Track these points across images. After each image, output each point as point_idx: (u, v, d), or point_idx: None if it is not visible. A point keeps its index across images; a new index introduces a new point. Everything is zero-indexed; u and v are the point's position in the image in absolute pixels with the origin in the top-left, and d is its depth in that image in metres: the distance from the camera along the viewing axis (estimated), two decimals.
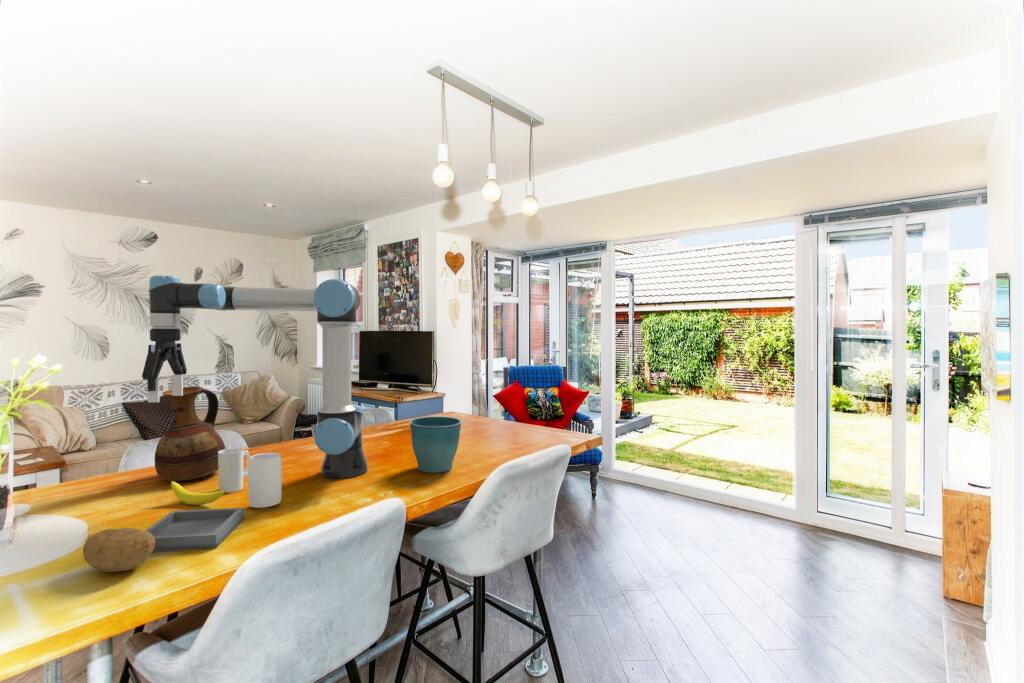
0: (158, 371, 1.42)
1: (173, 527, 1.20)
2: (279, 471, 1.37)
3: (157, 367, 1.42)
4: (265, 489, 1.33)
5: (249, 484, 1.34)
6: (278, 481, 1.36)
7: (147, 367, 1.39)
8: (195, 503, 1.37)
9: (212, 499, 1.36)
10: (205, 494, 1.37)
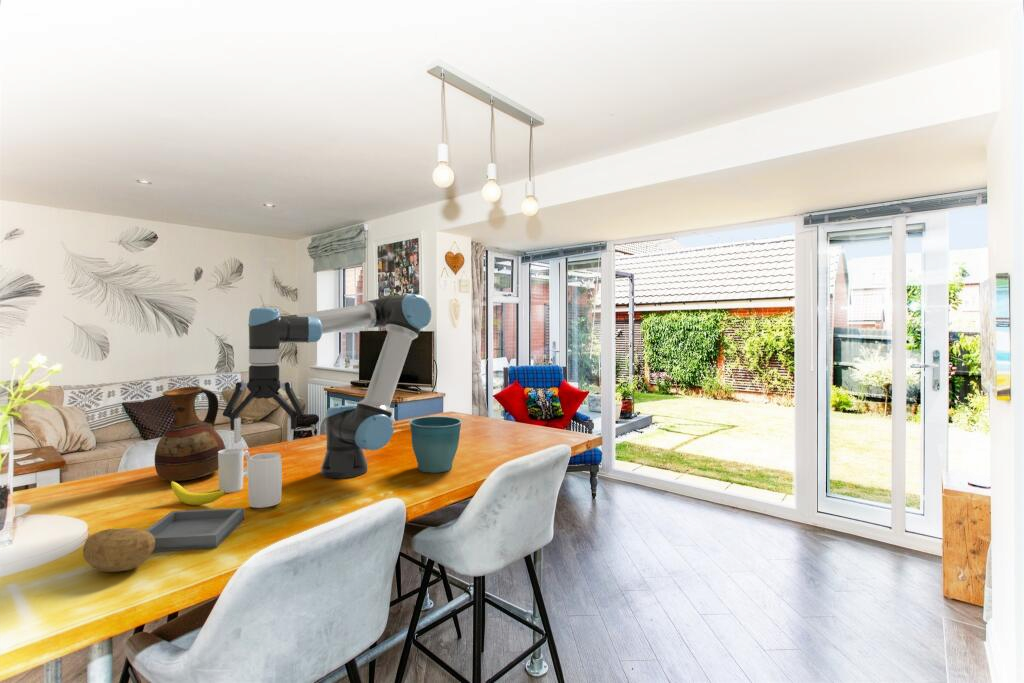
0: (237, 410, 1.34)
1: (173, 527, 1.20)
2: (279, 471, 1.37)
3: None
4: (265, 489, 1.33)
5: (249, 484, 1.34)
6: (278, 481, 1.36)
7: None
8: (195, 503, 1.37)
9: (212, 499, 1.36)
10: (205, 494, 1.37)
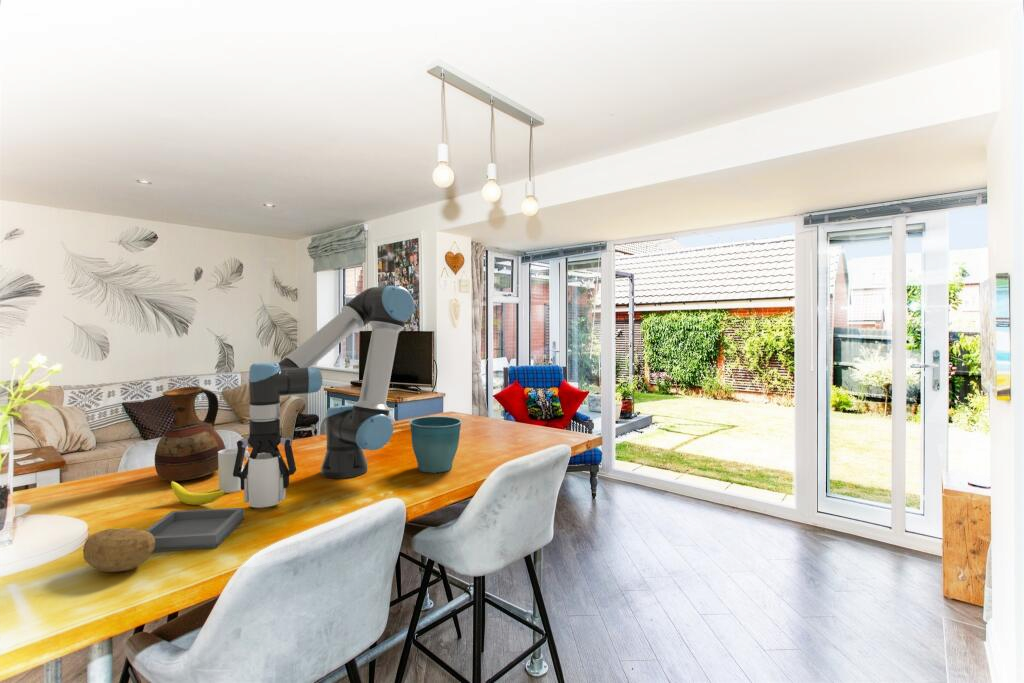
0: (245, 469, 1.35)
1: (173, 527, 1.20)
2: (279, 471, 1.37)
3: None
4: (265, 489, 1.33)
5: (249, 484, 1.34)
6: (278, 481, 1.36)
7: None
8: (195, 503, 1.37)
9: (212, 499, 1.36)
10: (205, 494, 1.37)
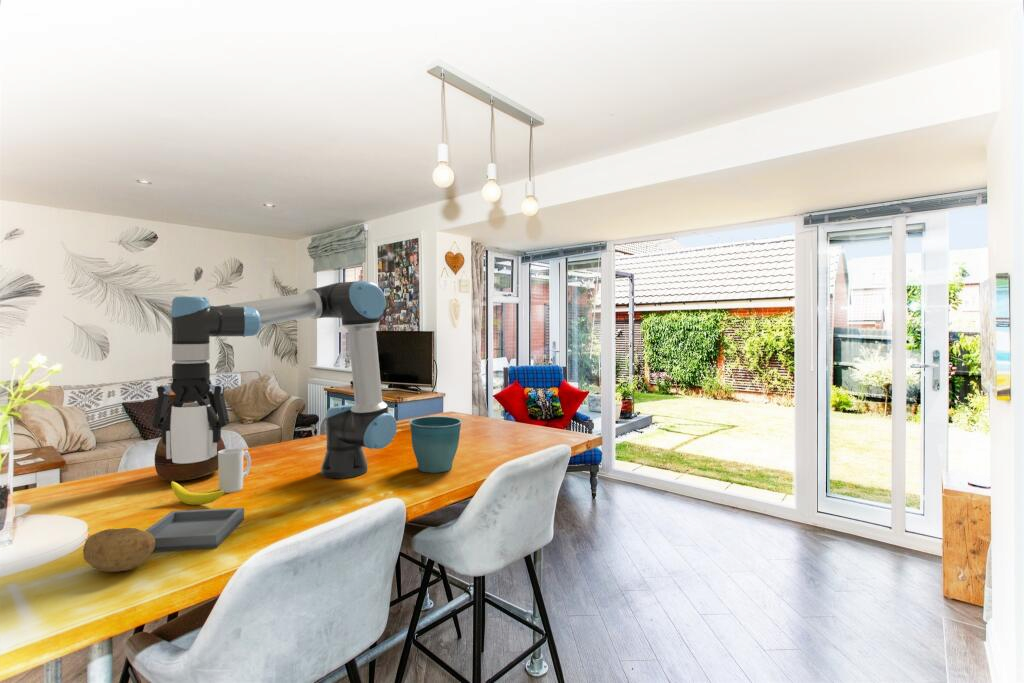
0: (167, 420, 1.16)
1: (173, 527, 1.20)
2: (208, 422, 1.17)
3: None
4: (189, 442, 1.14)
5: (171, 437, 1.15)
6: (206, 434, 1.17)
7: None
8: (195, 503, 1.37)
9: (212, 499, 1.36)
10: (205, 494, 1.37)
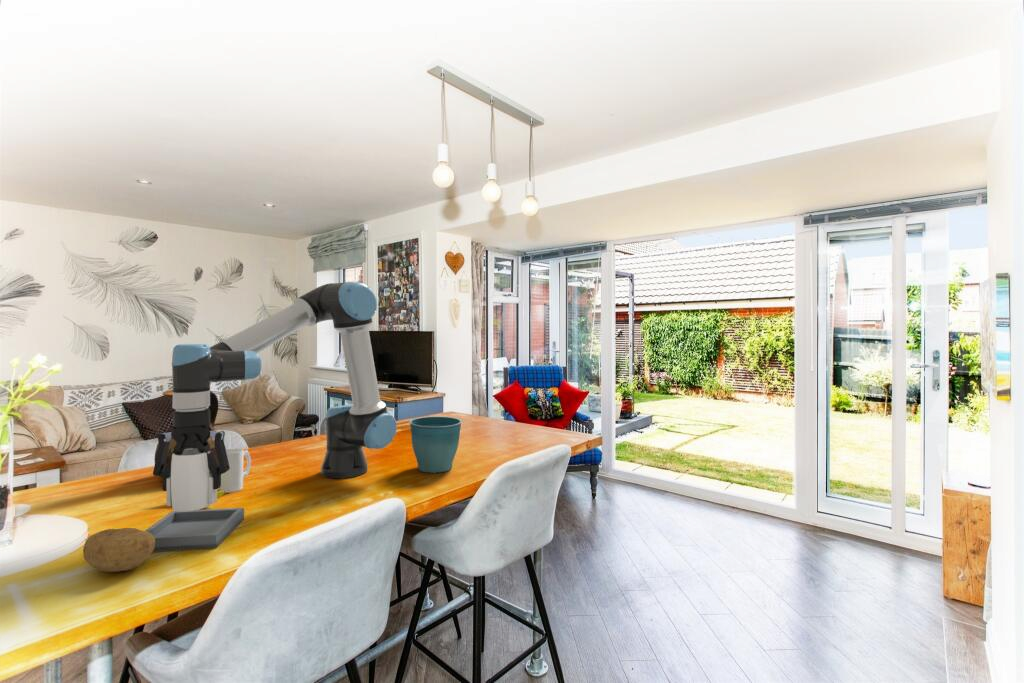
0: (167, 467, 1.16)
1: (173, 527, 1.20)
2: (208, 469, 1.18)
3: None
4: (190, 490, 1.15)
5: (171, 485, 1.15)
6: (207, 481, 1.17)
7: None
8: None
9: None
10: None
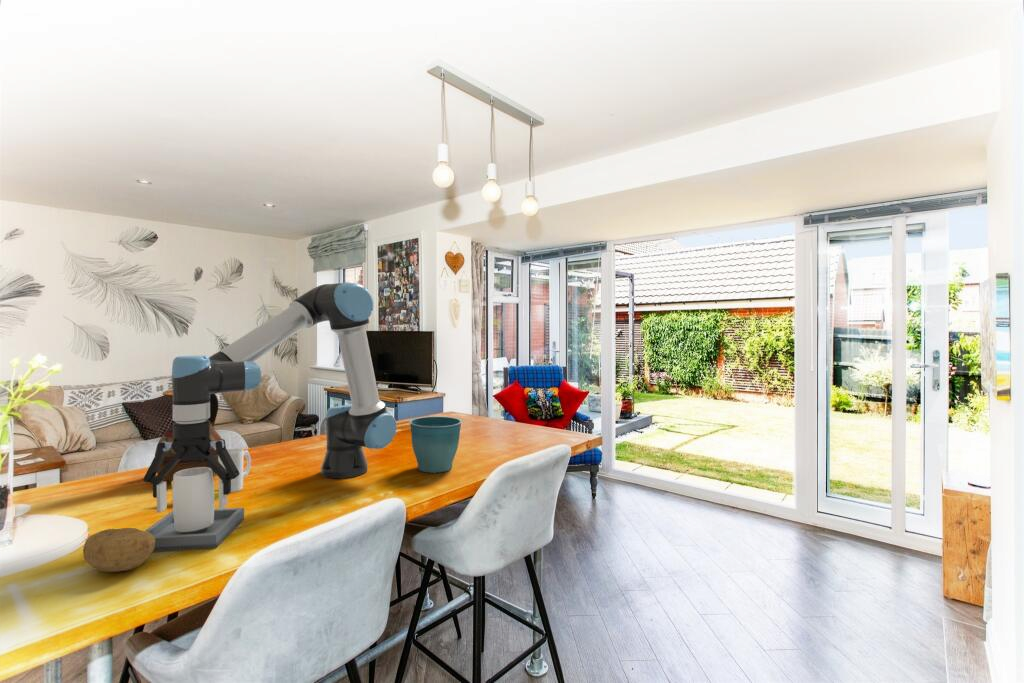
0: (160, 475, 1.16)
1: (173, 527, 1.20)
2: (210, 489, 1.18)
3: None
4: (192, 510, 1.15)
5: (173, 505, 1.15)
6: (208, 500, 1.18)
7: None
8: None
9: None
10: None
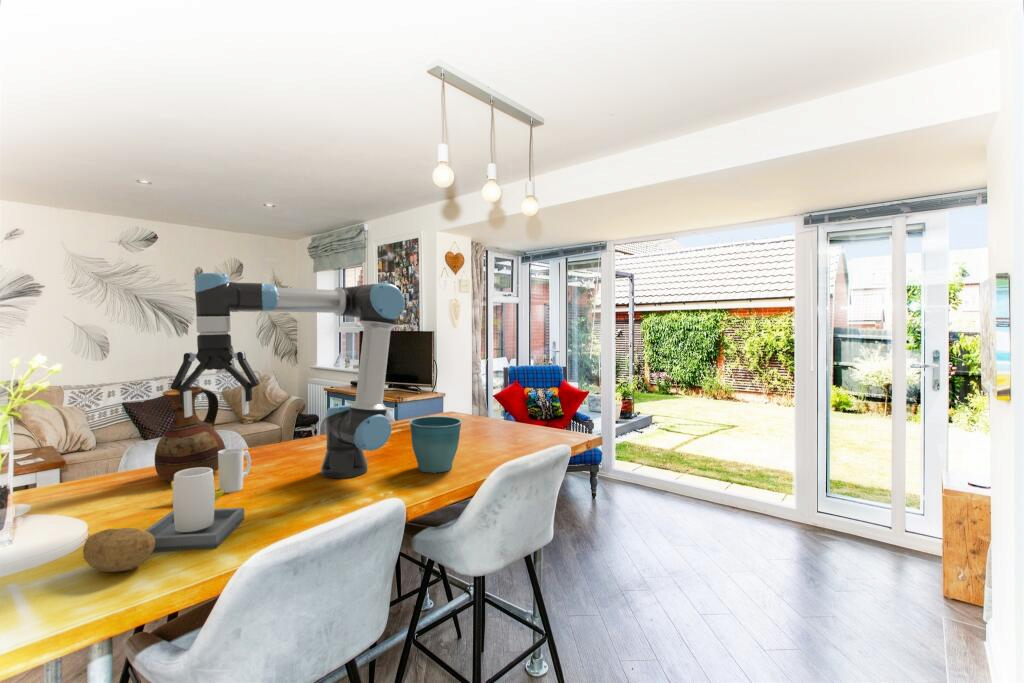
0: (186, 383, 1.26)
1: (173, 527, 1.20)
2: (210, 489, 1.18)
3: None
4: (192, 510, 1.15)
5: (173, 505, 1.15)
6: (209, 501, 1.18)
7: None
8: None
9: None
10: None
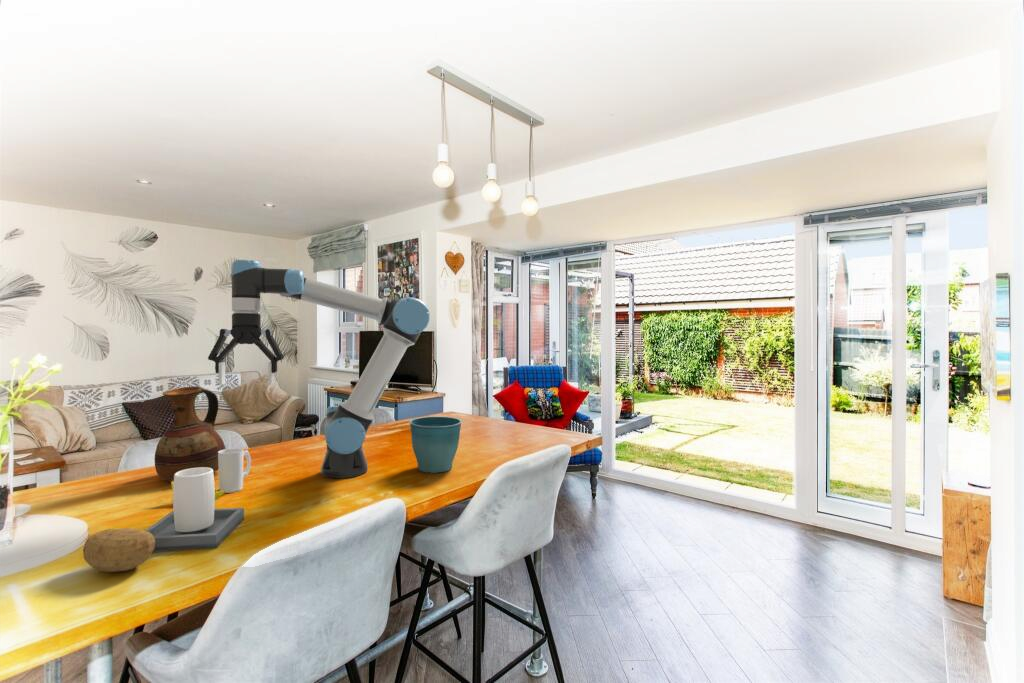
0: (221, 354, 1.45)
1: (173, 527, 1.20)
2: (210, 489, 1.18)
3: None
4: (192, 510, 1.15)
5: (173, 505, 1.15)
6: (209, 501, 1.18)
7: None
8: None
9: None
10: None
